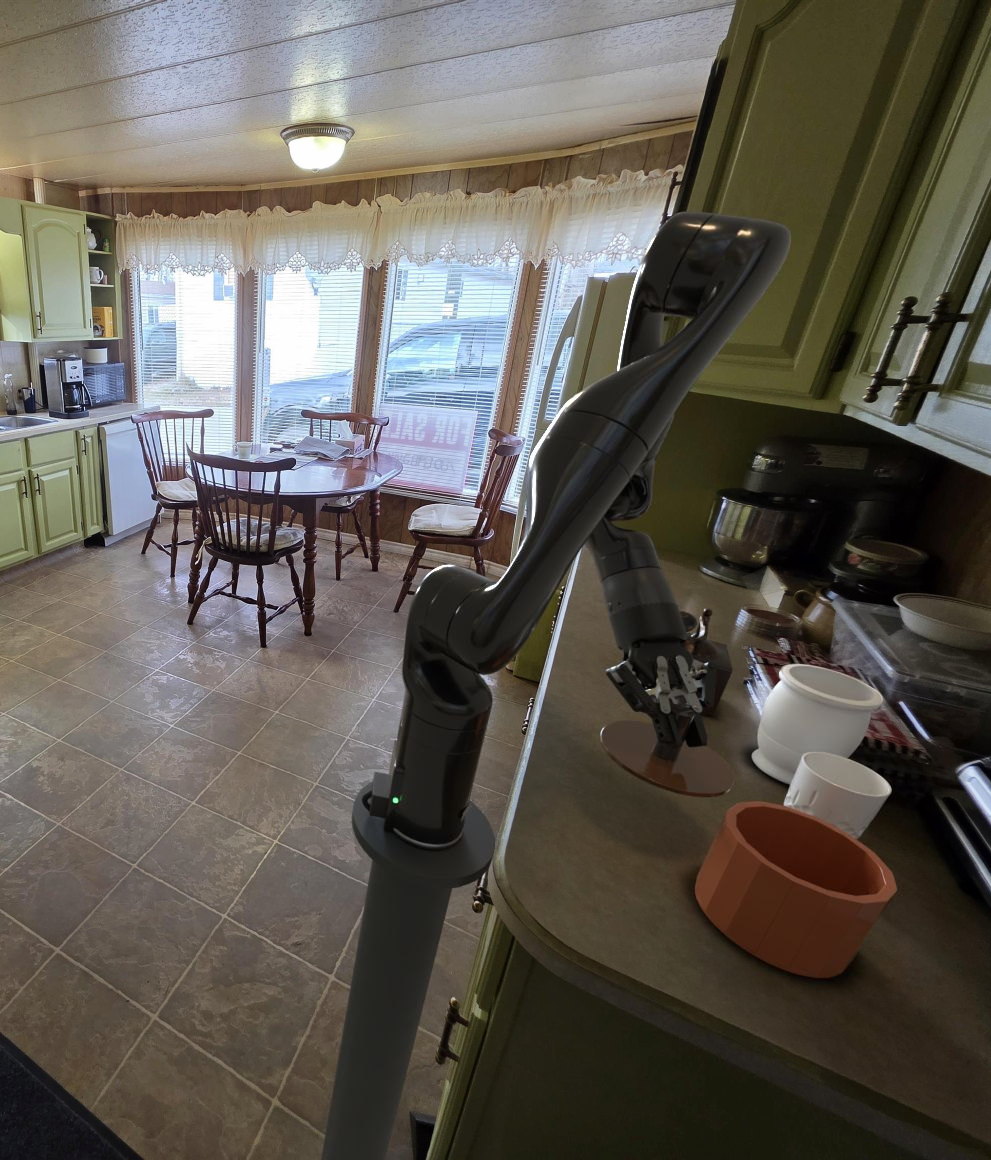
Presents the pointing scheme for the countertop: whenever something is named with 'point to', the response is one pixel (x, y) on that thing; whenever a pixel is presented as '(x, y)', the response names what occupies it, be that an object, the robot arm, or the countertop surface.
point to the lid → (667, 757)
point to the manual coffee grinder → (707, 654)
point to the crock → (792, 888)
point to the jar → (812, 718)
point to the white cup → (837, 791)
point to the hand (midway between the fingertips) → (685, 746)
